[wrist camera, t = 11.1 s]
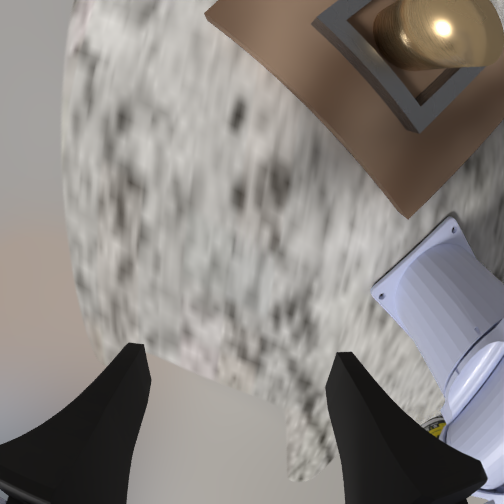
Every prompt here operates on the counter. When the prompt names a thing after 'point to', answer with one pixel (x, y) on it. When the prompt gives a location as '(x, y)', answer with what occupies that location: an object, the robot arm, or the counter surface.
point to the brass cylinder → (439, 34)
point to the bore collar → (390, 70)
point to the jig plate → (365, 95)
